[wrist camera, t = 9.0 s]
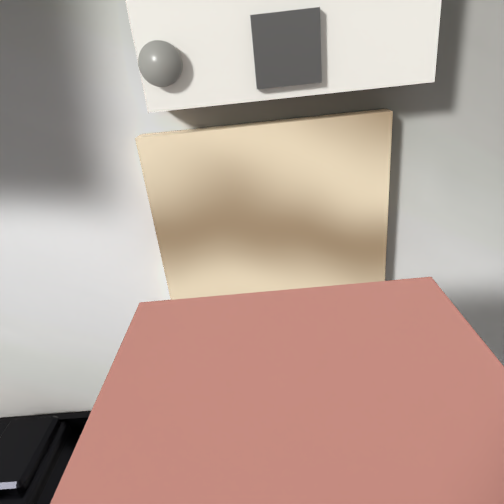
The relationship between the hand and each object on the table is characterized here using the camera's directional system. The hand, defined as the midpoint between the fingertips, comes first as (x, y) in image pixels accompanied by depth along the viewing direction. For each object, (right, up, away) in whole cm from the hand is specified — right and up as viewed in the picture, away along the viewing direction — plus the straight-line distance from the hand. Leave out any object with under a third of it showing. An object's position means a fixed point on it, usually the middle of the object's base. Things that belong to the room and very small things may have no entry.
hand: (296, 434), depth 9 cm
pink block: (0, 0, +1) cm, 1 cm away
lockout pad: (0, +5, +10) cm, 11 cm away
